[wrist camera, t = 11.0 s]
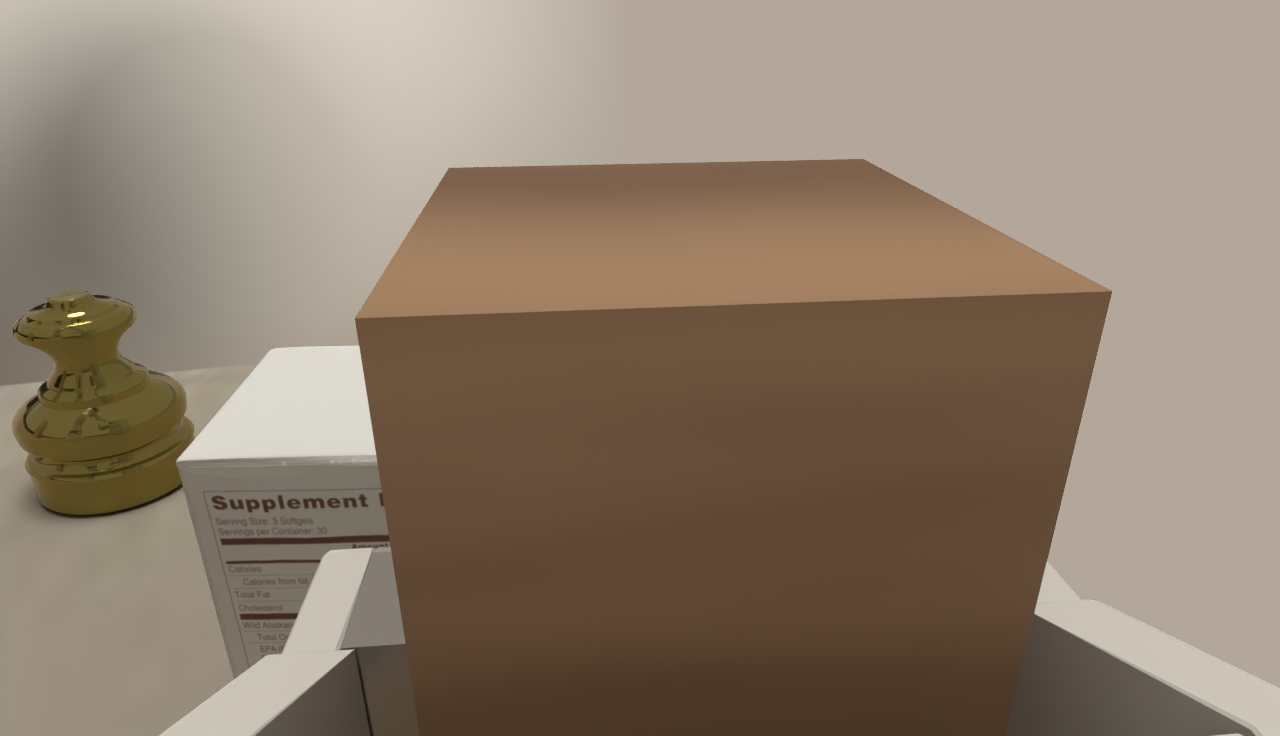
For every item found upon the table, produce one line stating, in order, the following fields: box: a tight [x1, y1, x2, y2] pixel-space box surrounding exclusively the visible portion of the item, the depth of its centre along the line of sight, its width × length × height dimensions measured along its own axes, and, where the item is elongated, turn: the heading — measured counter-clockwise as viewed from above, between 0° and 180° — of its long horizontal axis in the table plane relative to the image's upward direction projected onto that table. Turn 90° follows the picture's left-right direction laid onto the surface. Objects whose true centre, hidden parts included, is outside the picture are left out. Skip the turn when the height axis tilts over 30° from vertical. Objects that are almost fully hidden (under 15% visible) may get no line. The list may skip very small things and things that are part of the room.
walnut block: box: [355, 159, 1112, 736], centre depth 9 cm, size 4×4×10 cm
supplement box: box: [176, 346, 390, 679], centre depth 26 cm, size 7×7×13 cm
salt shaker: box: [12, 290, 195, 515], centre depth 41 cm, size 7×7×10 cm
